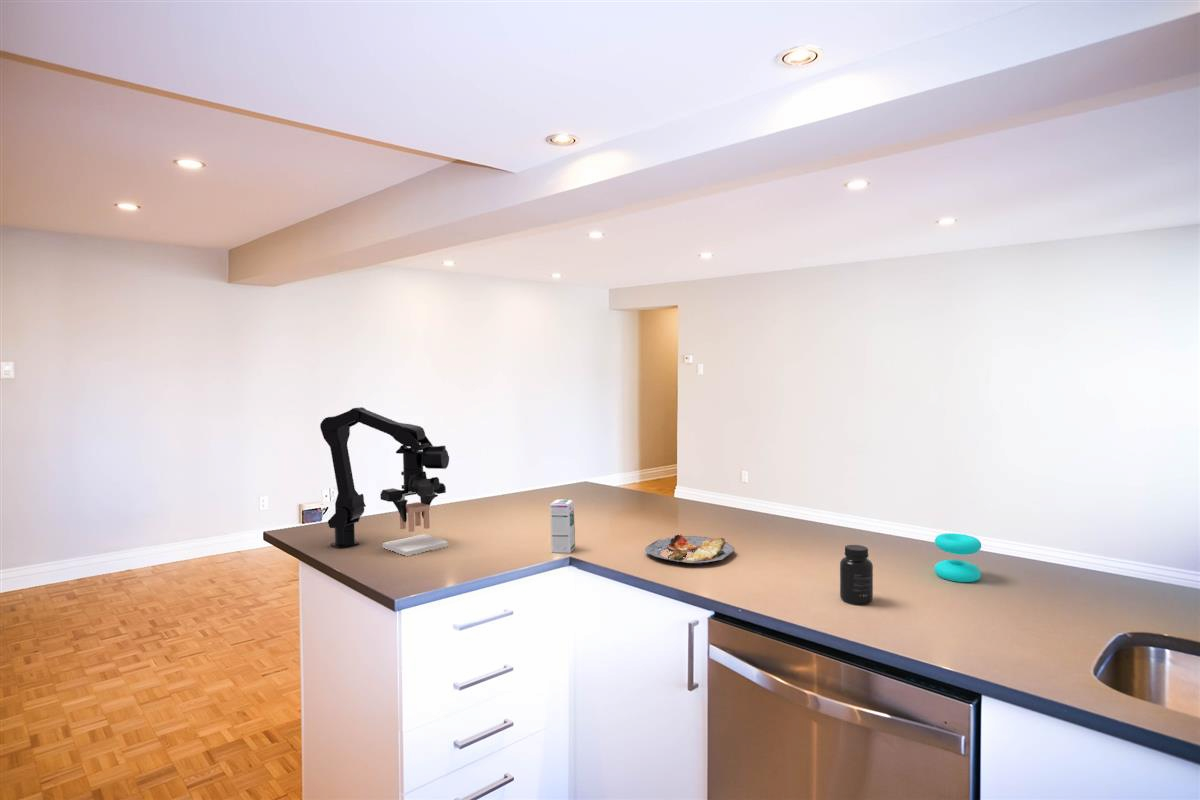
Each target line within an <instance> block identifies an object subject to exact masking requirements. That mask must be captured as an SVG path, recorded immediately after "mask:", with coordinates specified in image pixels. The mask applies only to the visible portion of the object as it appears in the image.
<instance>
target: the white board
mask: <svg viewBox="0 0 1200 800" xmlns="http://www.w3.org/2000/svg"><path fill="white" fill-rule="evenodd" d="M449 544H450V543H449V541H448V540H445V539H442V538H441V539H440V538H438V537H435V536H431V535H428V534H426V533H422V534H418V535H414V536H408V537H404V538H400V539H395V540H391V541H385V542H381V545H382V546H381V547H383V548H382V549H384V548H385V550H386V549H388V550H387V551H389V550H391V551H390V552H392V551H394V552H397V553H399V554H398V555H400V554H402V555H405V556H408V557H410V556H409V555H412V554H416V555H418V554H417V553H420V554H422V553H421V552H425V551H429V550H433V551H435V550H434V549H437V550H439V549H438V548H441V549H443V548H442V547H445V548H448V547H447V546H449V547H450V545H449ZM394 552H393V553H394ZM429 552H430V551H429ZM397 553H396V554H397ZM425 553H426V552H425ZM402 555H401V556H402ZM405 556H404V557H405ZM412 556H413V555H412Z"/></svg>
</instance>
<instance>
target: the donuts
mask: <svg viewBox="0 0 1200 800" xmlns="http://www.w3.org/2000/svg"><path fill="white" fill-rule="evenodd" d="M934 543H935V546H936V547H937V548H938V549H940V550H941V551H943V552H945V553H948V554H954V555H961V556H962V555H963V556H965V555H966V556H968V555H974V554H976V553H978V552H980V551H981V548H982V542H981V541H980V540H979V539H978V538H976V537H975V536H971V535H967V534H965V533H964V534H962V533H950V532H949V533H946V532H945V533H941V534H938V535H936V536H935V538H934ZM934 572H935V574H936V575H937V576H938V577H940V578H941V579H944V580H947V581H952V582H957V583H958V582H959V583H973V582H977V581H979V579H980V578H981V576H982V573H981V572H982V571H981V570H980V568H979V567H978V566H977V565H975V564H973V563H971V562H968V561H965V560H962V559H961V560H959V559H944V560H940V561H938V562H937V563H936V564H935V566H934Z"/></svg>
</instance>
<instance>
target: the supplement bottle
mask: <svg viewBox="0 0 1200 800" xmlns="http://www.w3.org/2000/svg"><path fill="white" fill-rule="evenodd" d="M873 591H874V565H873V561H871V559H869V548H868V547H866V546H864V545H861V544H847V545H846V546H844V556H843V558H841V559H840V563H839V595H840V599H841V600H842V601H843V602H844V603H846V604H850V605H856V606H867V605H870V604H871V603H872V602H873V599H874V597H873V596H874V592H873Z"/></svg>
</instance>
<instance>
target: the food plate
mask: <svg viewBox="0 0 1200 800" xmlns="http://www.w3.org/2000/svg"><path fill="white" fill-rule="evenodd" d="M659 549H661V550H659ZM665 549H668V550H669V552H670V551H671V552H673V553H672V554H670V555H667V557H665V556H661V555H660V553H662V552H661V551H663V550H665ZM693 550H695V551H693ZM735 550H736V549H735V547H734V546H733V545H731V544H730V543H729V542H727V541H726V538H724V537H721V538H710V537H707V536H696V535H691V536H689V535H687V536H686V535H682V534H675V535H674V536H672V537H666V538H661V539H658V540H655V541H654V542H651V544H649V545H647V546H645V548H644V552H645V553H646V554H647V555H652V556H653V557H655V558H658V559H659V558H660V559H662V560H663V559H664V560H666V561H670V562H674V563H675V562H676V563H681V564H692V565H693V564H695V565H699V564H700V565H703V563H704V564H705V563H706V564H707V563H709V562H715V561H721V560H724V559H725V558H726V557H728V556H729V555H731V554H732V553H733V552H735ZM691 551H693V552H694V553H693V552H691ZM663 552H664V551H663ZM687 552H691V553H693V554H692V555H691V556H690V557H689V558H688V557H687V558H686V559H685V560H683V559H682V558H683V557H685V556H686V555H687ZM667 558H668V559H667ZM669 558H670V559H669ZM680 559H682V560H680Z"/></svg>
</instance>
